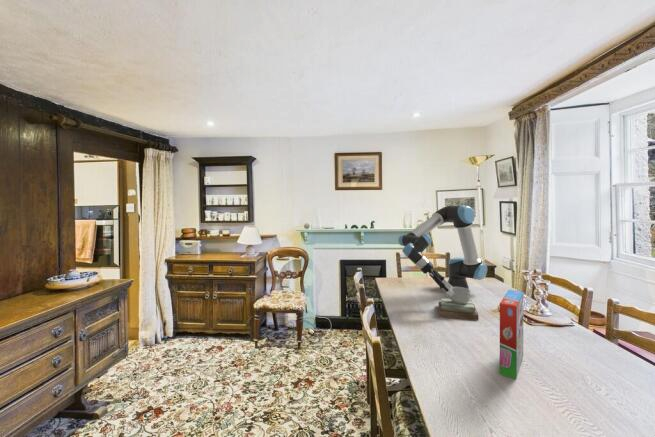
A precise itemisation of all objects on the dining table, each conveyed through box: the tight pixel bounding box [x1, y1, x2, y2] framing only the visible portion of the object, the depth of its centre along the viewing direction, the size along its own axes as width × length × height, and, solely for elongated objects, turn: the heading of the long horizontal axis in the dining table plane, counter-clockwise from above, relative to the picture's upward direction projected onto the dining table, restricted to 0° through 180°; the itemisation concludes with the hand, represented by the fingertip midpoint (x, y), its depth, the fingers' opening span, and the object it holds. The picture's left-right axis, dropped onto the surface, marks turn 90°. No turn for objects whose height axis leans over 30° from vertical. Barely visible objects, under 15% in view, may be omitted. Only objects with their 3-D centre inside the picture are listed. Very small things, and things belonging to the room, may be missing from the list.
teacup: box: [445, 287, 471, 304], centre depth 172 cm, size 14×11×8 cm
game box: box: [499, 289, 524, 380], centre depth 115 cm, size 21×6×27 cm, turn 141°
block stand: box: [438, 297, 479, 321], centre depth 172 cm, size 18×20×6 cm
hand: (451, 291), depth 172 cm, fingers open, 13 cm apart
